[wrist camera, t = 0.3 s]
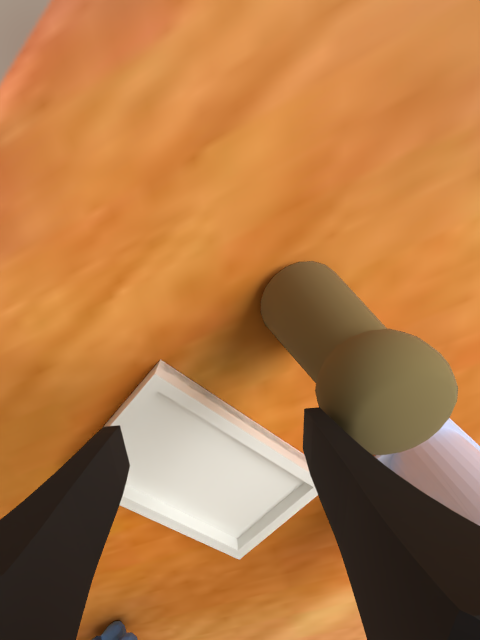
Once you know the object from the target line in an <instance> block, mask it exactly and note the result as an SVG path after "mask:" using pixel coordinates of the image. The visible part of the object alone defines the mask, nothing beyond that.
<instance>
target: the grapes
mask: <svg viewBox="0 0 480 640" xmlns="http://www.w3.org/2000/svg"><path fill="white" fill-rule="evenodd" d="M92 640H137V637H136V636H135V635H134V634H133V633H126V629H125V626H124V624H123V623H122V622H121V621H114V622H113V623H112V624H110V625H109V626H108V627H107V628H106V629H105V631H104V632H103V633H102V635H101V636H96V637H94V638H93V639H92Z"/></svg>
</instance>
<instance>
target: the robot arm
mask: <svg viewBox="0 0 480 640" xmlns="http://www.w3.org/2000/svg"><path fill="white" fill-rule="evenodd" d="M303 451H304V455H305V458H306V462H307V465H308V469H309V472H310V476H311V478H312V481H313V483H314V486H315V488H316V491H317V493H318V496H319V498H320V501H321V503H322V506H323V508H324V511H325V513H326V516H327V518H328V520H329V523H330V525H331V528H332V530H333V533H334V535H335V538H336V541H337V543H338V546H339V549H340V551H341V554H342V558H343V561H344V564H345V567H346V570H347V574H348V577H349V580H350V583H351V586H352V590H353V593H354V596H355V600H356V603H357V606H358V610H359V613H360V616H361V620H362V623H363V626H364V630H365V633H366V637H367V640H480V446H479V445H478V444H477V443H476V442H475V441H474V440H473V439H472V438H470V437H469V436H468V435H467V434H466V433H465V432H464V431H463V430H462V429H461V428H460V427H458V426H457V425H456V424H455V423H454V422H453V421H452V420H451V419H450V418H449V419H448V420H447V421H446V422H445V424H444V425H443V426H442V427H441V429H440V430H439V431H438V432H436V433H435V434H434V435H433V436H432V437H430V438H429V439H428V440H426V441H425V442H423V443H421V444H419V445H418V446H416V447H414V448H411V449H409V450H406V451H403V452H400V453H394V454H388V455H376V456H373V455H372V454H370V453H369V452H368V451H367V450H366V449H364V448H363V447H362V446H361V445H360V444H359V443H358V442H356V441H355V440H354V439H353V438H352V437H351V436H350V435H349V434H347V433H346V432H345V431H344V430H343V429H342V428H341V427H340V426H339V425H338V424H337V423H336V422H335V421H333V420H332V419H331V418H330V417H329V416H328V415H327V414H326V413H325V412H324V411H323V410H322V409H321V408H320V407H319V408H308V409H304V434H303ZM129 468H130V463H129V459H128V455H127V451H126V447H125V443H124V439H123V435H122V431H121V427H120V425H117V426H106V427H103V428H102V429H101V430H100V431H99V432H98V433H96V434H95V435H94V436H93V437H92V438H91V439H90V440H89V441H88V442H87V443H86V444H85V445H84V446H83V447H82V448H81V449H80V450H79V451H78V452H77V453H76V454H75V455H74V456H73V457H72V458H71V459H69V460H68V461H67V462H66V463H65V464H64V465H63V466H62V467H61V468H60V469H59V470H58V471H57V472H56V473H55V474H54V475H52V476H51V477H50V478H49V479H48V480H47V481H46V482H44V483H43V484H42V485H41V486H40V487H39V488H38V489H37V490H35V491H34V492H33V493H32V494H31V495H30V496H29V497H28V498H26V499H25V500H24V501H23V502H22V503H21V504H19V505H18V506H17V507H16V508H14V509H13V510H12V511H11V512H10V513H8V514H7V515H6V516H5V517H3V518H2V519H1V520H0V640H76V637H77V633H78V630H79V626H80V622H81V618H82V615H83V611H84V608H85V604H86V600H87V597H88V593H89V590H90V586H91V583H92V580H93V577H94V573H95V570H96V567H97V564H98V562H99V559H100V556H101V554H102V551H103V548H104V545H105V543H106V540H107V537H108V535H109V532H110V529H111V526H112V524H113V521H114V518H115V516H116V513H117V510H118V507H119V504H120V502H121V499H122V496H123V493H124V489H125V485H126V481H127V477H128V472H129Z"/></svg>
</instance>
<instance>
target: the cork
mask: <svg viewBox="0 0 480 640" xmlns="http://www.w3.org/2000/svg"><path fill="white" fill-rule="evenodd" d="M261 315H262V318H263V321H264V324H265V325H266V326H267V327H268V328H269V330H270V331H271V332H272V333H273V334H274V335H275V337H276V338H277V339H278V340H279V341H280V342H281V344H282V345H283V346H284V347H285V348H286V349H287V350H288V352H289V353H290V354H291V355H292V356H293V357H294V359H295V360H296V361H297V362H298V363H299V364H300V365H301V367H302V368H303V369H304V370H305V371H306V372H307V374H308V375H309V376H310V377H311V378H312V379H313V380H314V382H315V383H316V389H315V392H316V396H317V401H318V405H319V407H320V408H321V409H322V410H323V411H324V412H325V413H326V414H327V415H328V416H329V417H330V418H331V419H332V420H333V421H335V422H336V423H337V424H338V425H339V426H340V427H341V428H342V429H343V430H344V431H345V432H346V433H347V434H349V435H350V436H351V437H352V438H353V439H354V440H355V441H356V442H358V443H359V444H360V445H361V446H362V447H363V448H364V449H366V450H367V451H368V452H369V453H370V454H372V455H388V454H394V453H400V452H403V451H406V450H409V449H411V448H414V447H416V446H418V445H419V444H421V443H423V442H425V441H426V440H428V439H429V438H430V437H432V436H433V435H434V434H435V433H436V432H438V431H439V430H440V429H441V427H442V426H443V425H444V424H445V422H446V421H447V420H448V419H449V417H450V415H451V413H452V411H453V409H454V406H455V404H456V402H457V394H458V386H457V383H456V380H455V377H454V374H453V372H452V370H451V367H450V365H449V363H448V362H447V361H446V360H445V359H444V357H443V356H442V355H441V354H440V353H439V352H438V351H437V350H435V349H434V348H433V347H431V346H430V345H428V344H427V343H426V342H424V341H423V340H421V339H420V338H418V337H417V336H414V335H411V334H408V333H405V332H401V331H396V330H392V329H387V328H386V327H385V326H384V325H383V324H382V323H381V322H380V321H379V319H378V318H377V317H376V316H375V315H374V314H373V313H372V312H371V311H370V310H369V309H368V307H367V306H366V305H365V304H364V303H363V302H362V301H361V300H360V299H359V298H358V297H357V296H356V294H355V293H354V292H353V291H352V290H351V289H350V288H349V287H348V286H347V285H346V284H345V283H344V281H343V280H342V279H341V278H340V277H339V276H338V275H337V274H336V273H335V272H334V271H333V270H331V269H330V268H329V267H327V266H326V265H325V264H321V263H317V262H314V261H307V262H298V263H295V264H293V265H290V266H287V267H285V268H284V269H282V270H281V271H280V272H279V273H277V274H276V275H275V276H274V277H273V278H272V279H271V281H270V282H269V283H268V285H267V286H266V287H265V290H264V293H263V296H262V299H261Z"/></svg>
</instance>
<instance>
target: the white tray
mask: <svg viewBox="0 0 480 640" xmlns="http://www.w3.org/2000/svg"><path fill="white" fill-rule="evenodd" d="M117 425H120V427H121V431H122V435H123V439H124V443H125V447H126V451H127V455H128V459H129V463H130V468H129V472H128V477H127V481H126V485H125V489H124V493H123V496H122V499H121V502H120V504H119V505H121V506H123V507H125V508H127V509H129V510H131V511H134V512H136V513H138V514H140V515H142V516H145V517H147V518H149V519H151V520H153V521H156V522H158V523H160V524H162V525H164V526H167V527H169V528H171V529H173V530H175V531H177V532H180V533H182V534H184V535H186V536H188V537H191V538H193V539H195V540H197V541H199V542H202V543H204V544H206V545H208V546H210V547H213V548H215V549H217V550H219V551H221V552H223V553H226V554H228V555H230V556H232V557H234V558H237V559H239V560H240V559H241V558H242V557H243V556H244V555H246V554H247V553H248V552H249V551H250V550H252V549H253V548H254V547H255V546H257V545H258V544H259V543H260V542H261V541H263V540H264V539H265V538H266V537H267V536H269V535H270V534H271V533H272V532H274V531H275V530H276V529H277V528H278V527H280V526H281V525H282V524H283V523H284V522H286V521H287V520H288V519H289V518H291V517H292V516H293V515H294V514H295V513H297V512H298V511H299V510H300V509H301V508H303V507H304V506H305V505H306V504H308V503H309V502H310V501H311V500H312V499H314V498H315V497H316V496H317V495H318V493H317V491H316V488H315V486H314V483H313V481H312V478H311V476H310V472H309V469H308V465H307V462H306V458H305V455H304V454H303V453H301V452H300V451H298V450H297V449H295V448H294V447H292V446H291V445H289V444H288V443H286V442H285V441H283V440H282V439H280V438H279V437H277V436H276V435H274V434H273V433H271V432H269V431H268V430H266V429H265V428H263V427H262V426H260V425H259V424H257V423H256V422H254V421H253V420H251V419H250V418H248V417H247V416H245V415H244V414H242V413H241V412H239V411H238V410H236V409H235V408H233V407H232V406H230V405H229V404H227V403H226V402H224V401H223V400H221V399H219V398H218V397H216V396H215V395H213V394H212V393H210V392H209V391H207V390H206V389H204V388H203V387H201V386H200V385H198V384H197V383H195V382H194V381H192V380H191V379H189V378H188V377H186V376H185V375H183V374H182V373H180V372H179V371H177V370H176V369H174V368H173V367H171V366H170V365H168V364H166V363H165V362H163V361H162V360H160V361H159V362H158V363H157V364H156V365H155V367H154V368H153V369H152V370H151V371H150V372H149V374H148V375H147V376H146V377H145V378H144V379H143V381H142V382H141V383H140V384H139V385H138V387H137V388H136V389H135V390H134V391H133V392H132V394H131V395H130V396H129V397H128V398H127V399H126V401H125V402H124V403H123V404H122V405H121V407H120V408H119V409H118V410H117V411H116V412H115V414H114V415H113V416H112V417H111V418H110V419H109V421H108V422H107V423H106V424H105V425H104V426H103V427H106V426H117Z"/></svg>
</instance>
